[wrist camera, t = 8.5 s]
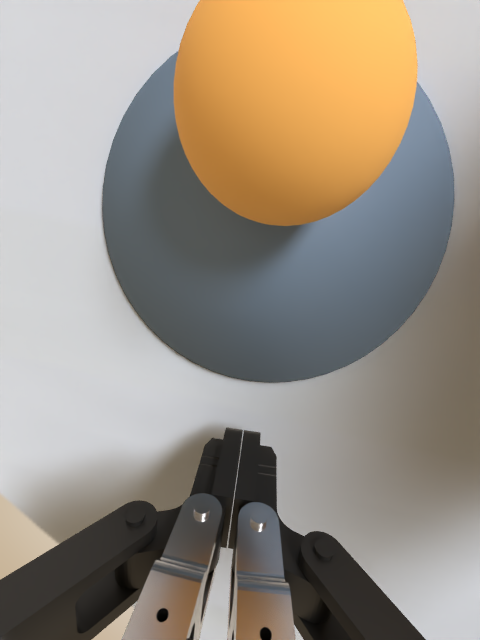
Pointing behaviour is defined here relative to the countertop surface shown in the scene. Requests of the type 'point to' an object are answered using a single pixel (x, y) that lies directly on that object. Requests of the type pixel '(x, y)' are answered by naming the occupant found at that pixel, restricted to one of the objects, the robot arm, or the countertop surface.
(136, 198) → the blue-gray disc
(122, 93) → the countertop surface
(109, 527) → the robot arm
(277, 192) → the ball
